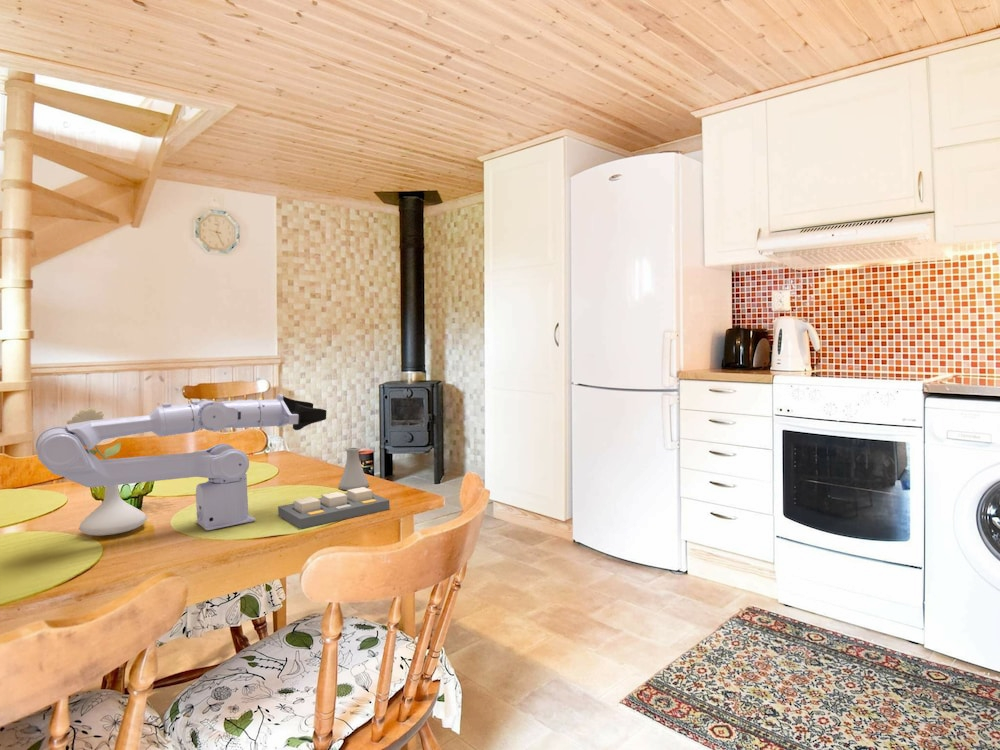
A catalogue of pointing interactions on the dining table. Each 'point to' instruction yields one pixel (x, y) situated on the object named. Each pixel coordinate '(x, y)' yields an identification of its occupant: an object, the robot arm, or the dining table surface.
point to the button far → (359, 494)
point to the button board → (332, 512)
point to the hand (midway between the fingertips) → (319, 411)
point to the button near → (307, 505)
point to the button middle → (334, 499)
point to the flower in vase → (108, 496)
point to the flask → (353, 471)
